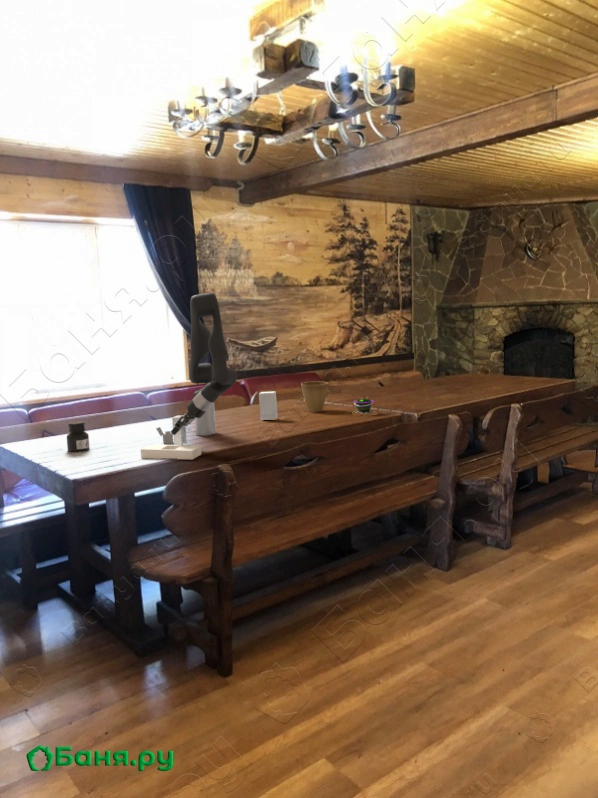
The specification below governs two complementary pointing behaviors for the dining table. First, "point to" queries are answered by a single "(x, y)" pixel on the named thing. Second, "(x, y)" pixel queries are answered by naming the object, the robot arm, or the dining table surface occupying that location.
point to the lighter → (165, 435)
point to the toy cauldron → (364, 406)
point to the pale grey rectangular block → (179, 432)
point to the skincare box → (268, 405)
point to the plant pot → (314, 395)
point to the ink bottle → (77, 437)
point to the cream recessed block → (171, 451)
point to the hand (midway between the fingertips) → (175, 431)
